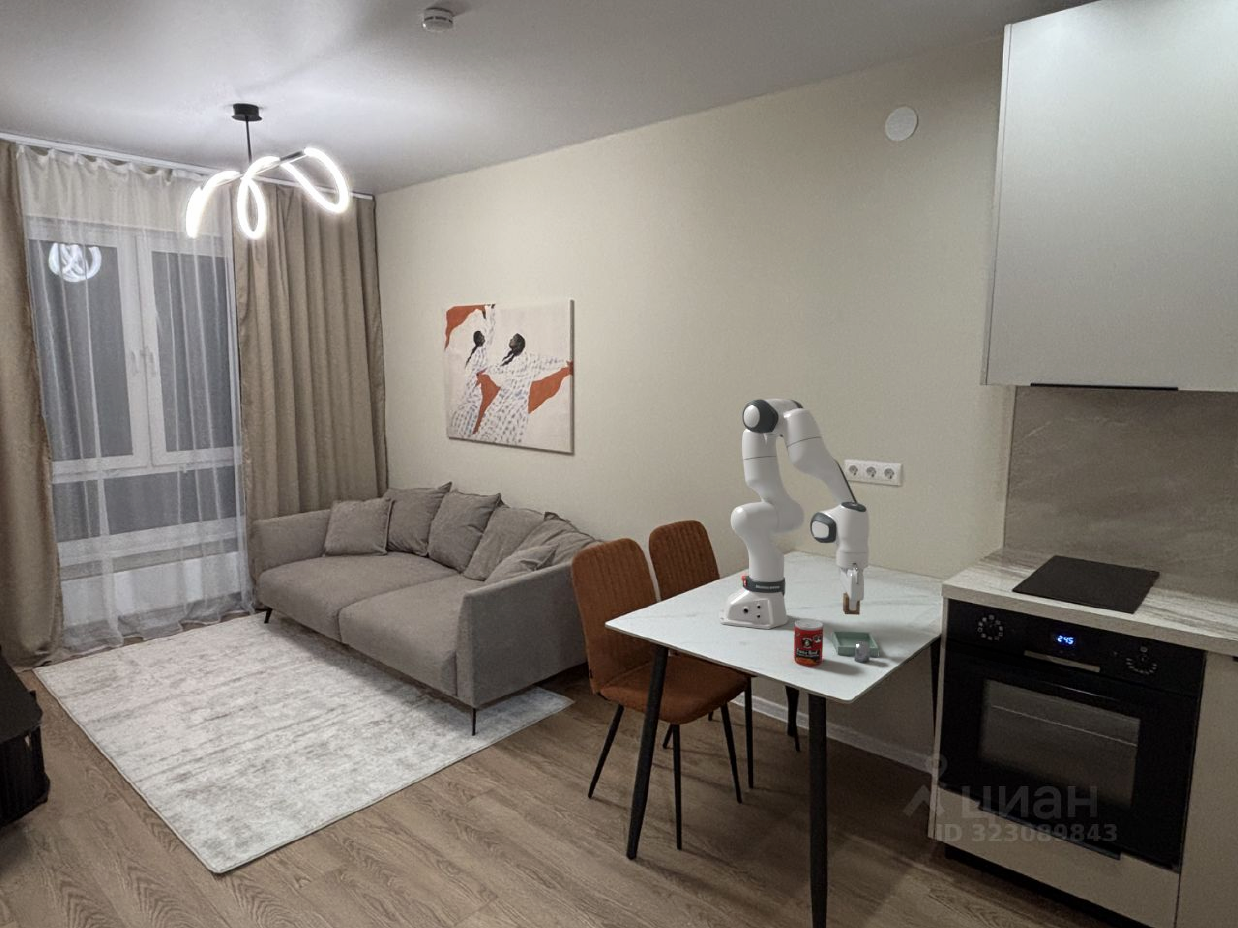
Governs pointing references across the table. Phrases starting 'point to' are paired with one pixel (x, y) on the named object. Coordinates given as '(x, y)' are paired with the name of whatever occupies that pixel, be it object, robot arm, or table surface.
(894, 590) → the table surface
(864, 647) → the metal peg
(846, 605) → the walnut block
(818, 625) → the canned food
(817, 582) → the table surface
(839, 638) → the tray
